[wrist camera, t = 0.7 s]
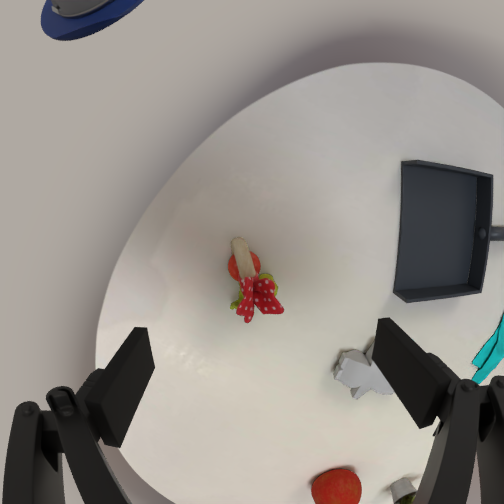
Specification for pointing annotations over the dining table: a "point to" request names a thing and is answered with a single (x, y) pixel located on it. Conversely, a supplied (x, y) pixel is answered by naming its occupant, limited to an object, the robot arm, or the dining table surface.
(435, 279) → the scoop
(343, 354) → the bunny figurine
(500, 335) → the cloth
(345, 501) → the apple
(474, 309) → the dining table surface
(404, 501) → the house plant
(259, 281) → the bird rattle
